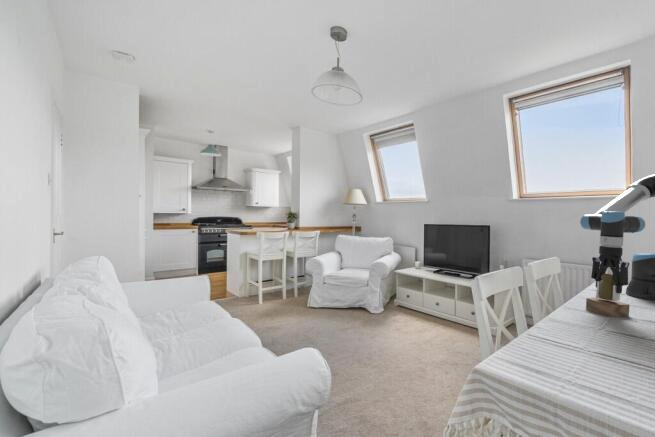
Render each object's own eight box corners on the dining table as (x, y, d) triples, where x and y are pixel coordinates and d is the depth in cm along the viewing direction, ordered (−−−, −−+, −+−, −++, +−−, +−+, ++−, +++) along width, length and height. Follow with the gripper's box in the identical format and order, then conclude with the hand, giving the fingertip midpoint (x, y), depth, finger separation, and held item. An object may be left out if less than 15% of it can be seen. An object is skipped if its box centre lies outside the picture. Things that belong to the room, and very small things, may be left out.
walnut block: (604, 308, 140) (605, 297, 140) (628, 316, 130) (629, 304, 130) (585, 308, 138) (586, 298, 138) (609, 316, 129) (609, 305, 128)
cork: (609, 296, 137) (610, 272, 136) (621, 301, 131) (622, 276, 130) (595, 296, 137) (596, 272, 137) (606, 300, 131) (607, 275, 131)
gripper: (582, 243, 142) (579, 291, 143) (628, 249, 123) (624, 305, 124) (596, 243, 143) (593, 291, 144) (643, 249, 124) (639, 304, 125)
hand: (607, 297), depth 134 cm, fingers closed on cork, 6 cm apart
